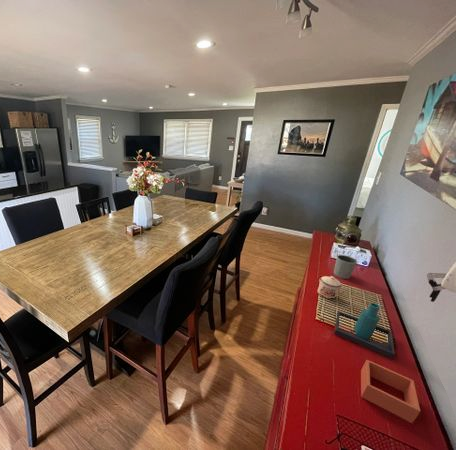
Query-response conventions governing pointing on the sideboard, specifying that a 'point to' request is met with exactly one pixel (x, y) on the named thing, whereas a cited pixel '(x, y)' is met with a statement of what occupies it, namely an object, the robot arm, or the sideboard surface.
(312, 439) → the sideboard surface
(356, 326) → the bottle
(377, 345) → the dark gray rectangular frame
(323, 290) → the teacup with lid
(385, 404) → the bin
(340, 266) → the grey cup
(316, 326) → the sideboard surface
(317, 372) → the sideboard surface
